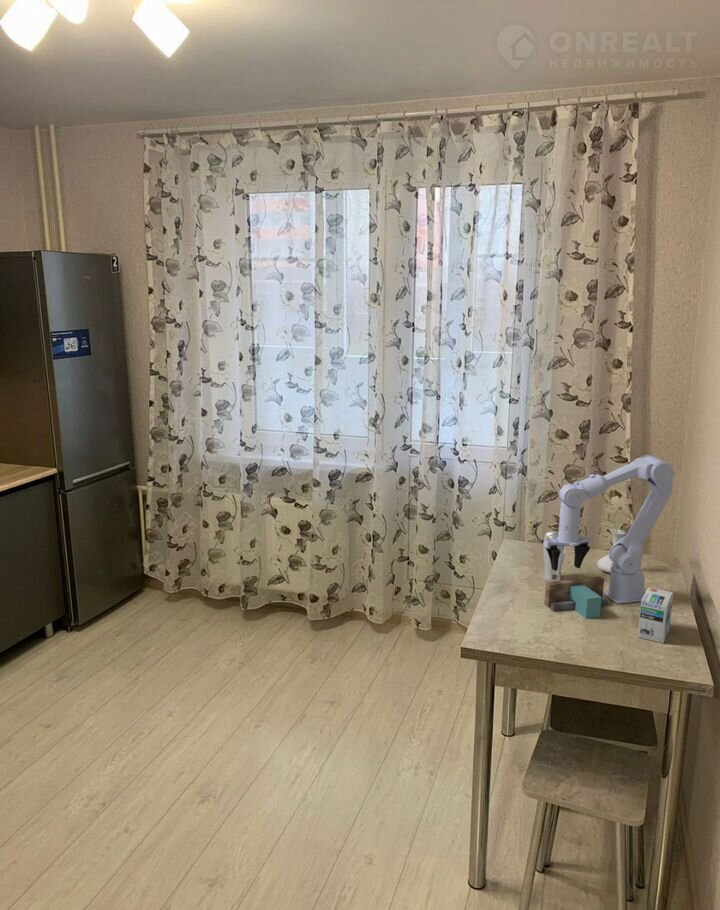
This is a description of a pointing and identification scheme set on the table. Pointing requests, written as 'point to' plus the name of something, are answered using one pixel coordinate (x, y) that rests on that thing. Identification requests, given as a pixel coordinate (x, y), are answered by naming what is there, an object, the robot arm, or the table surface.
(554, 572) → the beer glass
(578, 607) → the teal rectangular block
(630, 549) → the robot arm
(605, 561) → the flower in vase
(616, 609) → the table surface
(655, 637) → the light bulb box
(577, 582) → the brown wooden ledge block
